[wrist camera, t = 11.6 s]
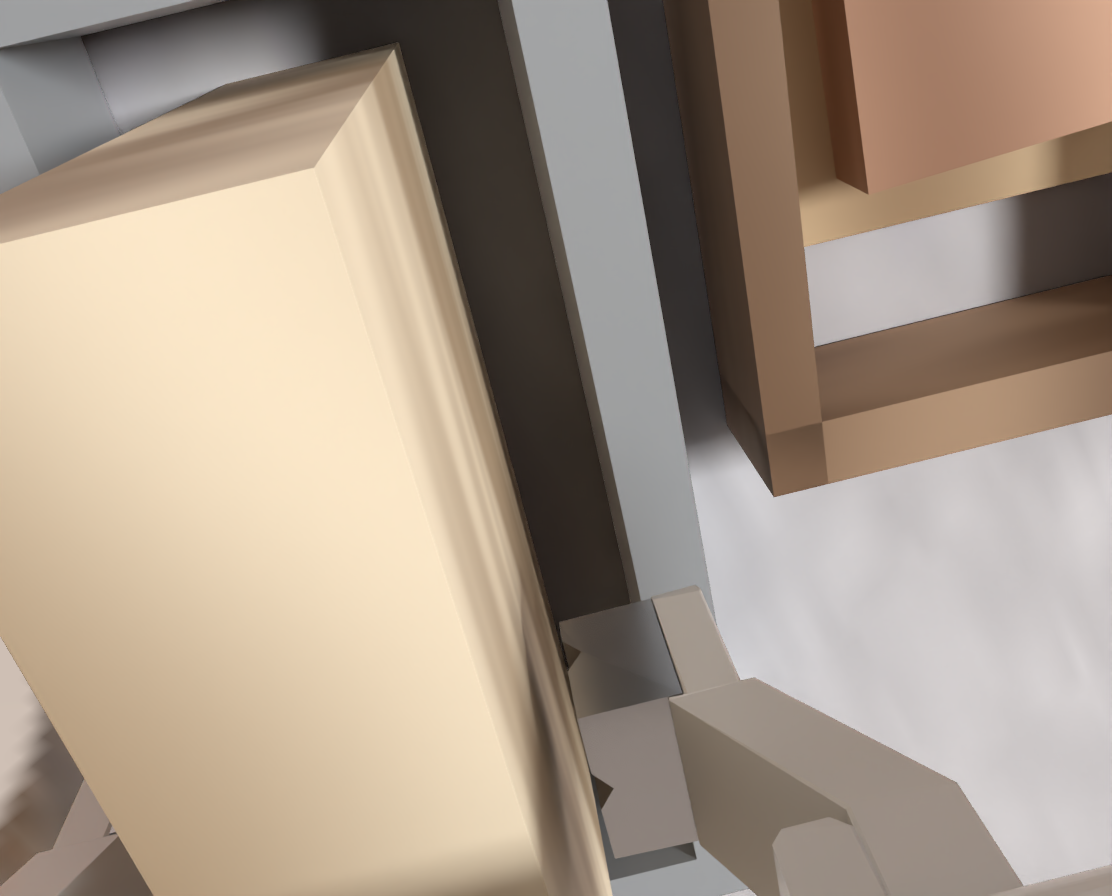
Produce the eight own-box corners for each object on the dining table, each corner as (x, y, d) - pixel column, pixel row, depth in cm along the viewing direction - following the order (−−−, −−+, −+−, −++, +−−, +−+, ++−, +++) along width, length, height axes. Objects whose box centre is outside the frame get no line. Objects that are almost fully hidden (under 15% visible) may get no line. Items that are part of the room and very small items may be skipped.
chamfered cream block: (399, 41, 13) (314, 169, 4) (576, 702, 19) (701, 1369, 10) (228, 82, 13) (-205, 292, 4) (454, 732, 19) (466, 1426, 10)
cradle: (541, -169, 12) (570, -210, 10) (717, 759, 19) (762, 885, 17) (-32, -30, 12) (-164, -32, 10) (354, 849, 19) (341, 989, 17)
